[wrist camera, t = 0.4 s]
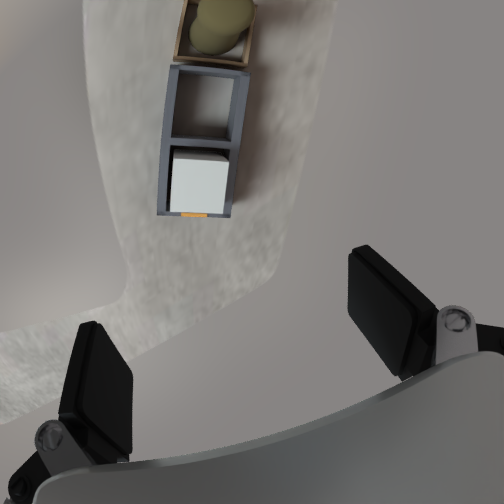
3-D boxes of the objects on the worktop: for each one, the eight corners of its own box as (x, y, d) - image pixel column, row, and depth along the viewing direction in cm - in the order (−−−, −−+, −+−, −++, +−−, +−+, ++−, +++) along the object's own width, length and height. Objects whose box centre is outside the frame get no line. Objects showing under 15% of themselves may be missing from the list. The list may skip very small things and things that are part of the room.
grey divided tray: (171, 69, 29) (170, 64, 26) (243, 76, 32) (251, 72, 28) (158, 204, 37) (156, 215, 33) (225, 207, 39) (230, 218, 35)
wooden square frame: (184, 1, 25) (185, -5, 24) (253, 9, 28) (257, 5, 26) (173, 61, 29) (172, 58, 27) (243, 68, 31) (247, 66, 30)
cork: (244, 49, 30) (271, 28, 21) (195, 61, 30) (203, 42, 20) (232, 7, 27) (254, -26, 18) (182, 18, 27) (186, -14, 17)
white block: (174, 149, 34) (173, 158, 28) (219, 152, 36) (229, 162, 30) (170, 193, 37) (170, 211, 30) (214, 195, 38) (222, 213, 32)
